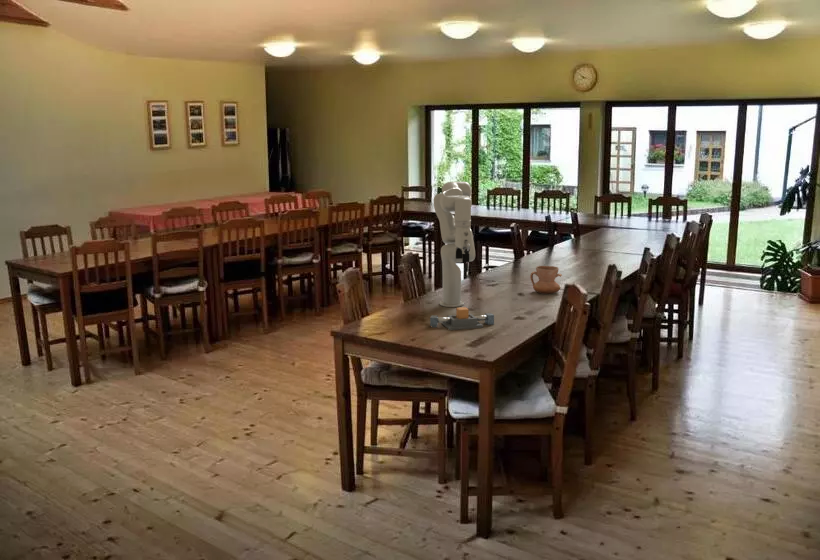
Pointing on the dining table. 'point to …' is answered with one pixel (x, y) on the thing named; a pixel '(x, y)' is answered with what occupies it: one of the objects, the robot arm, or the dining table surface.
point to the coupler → (462, 313)
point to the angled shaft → (438, 320)
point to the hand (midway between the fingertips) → (462, 260)
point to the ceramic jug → (546, 279)
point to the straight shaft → (486, 318)
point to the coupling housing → (462, 323)
